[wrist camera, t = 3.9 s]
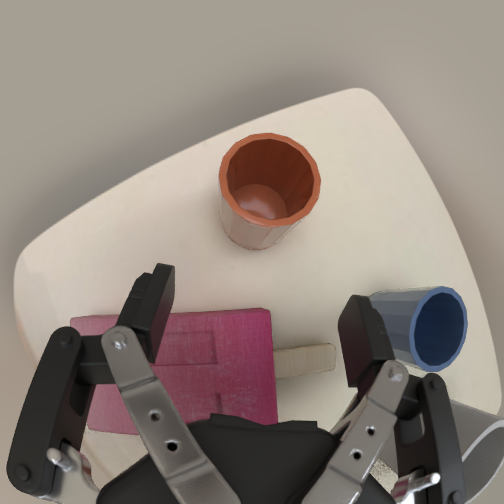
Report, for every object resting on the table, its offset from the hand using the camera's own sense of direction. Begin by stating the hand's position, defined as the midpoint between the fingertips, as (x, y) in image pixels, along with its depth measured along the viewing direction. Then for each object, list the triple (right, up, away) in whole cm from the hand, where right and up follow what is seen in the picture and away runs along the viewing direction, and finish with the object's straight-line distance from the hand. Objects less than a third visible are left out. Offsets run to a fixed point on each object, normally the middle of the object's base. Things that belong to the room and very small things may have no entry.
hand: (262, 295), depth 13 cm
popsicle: (-4, -8, +10) cm, 14 cm away
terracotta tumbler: (0, +5, +12) cm, 14 cm away
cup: (+16, -17, +11) cm, 26 cm away
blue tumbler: (+12, -5, +12) cm, 18 cm away
